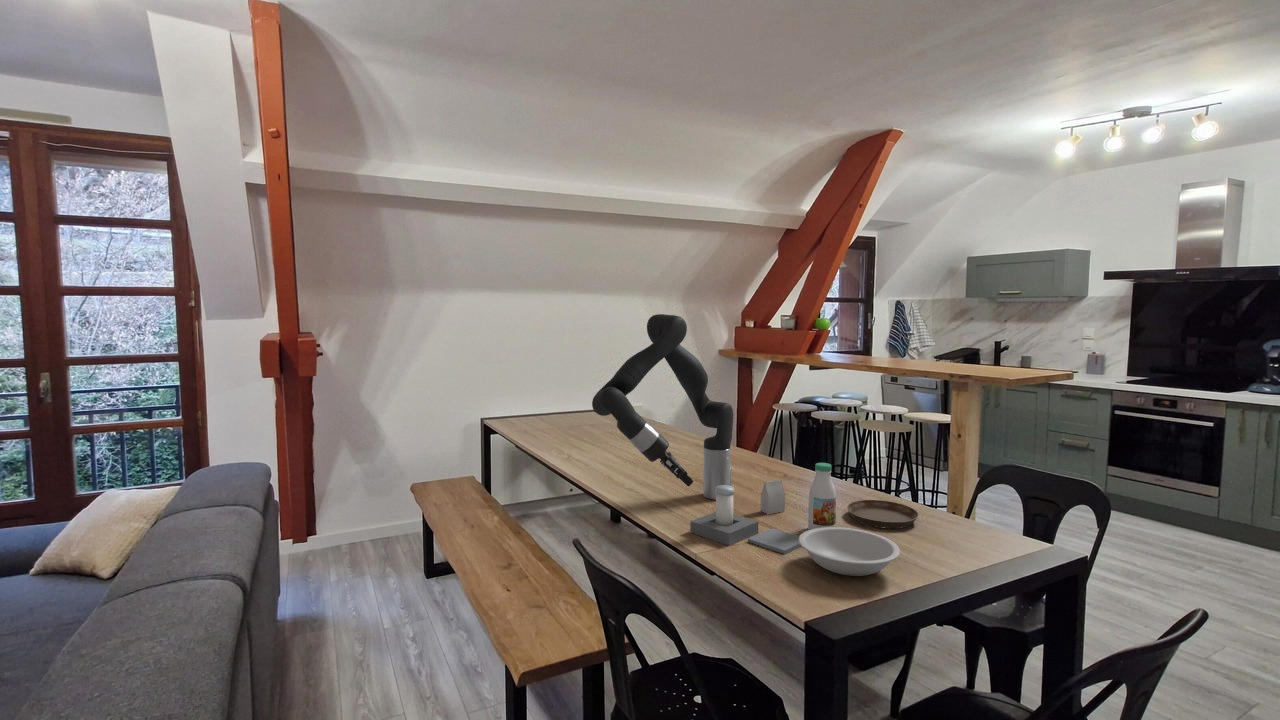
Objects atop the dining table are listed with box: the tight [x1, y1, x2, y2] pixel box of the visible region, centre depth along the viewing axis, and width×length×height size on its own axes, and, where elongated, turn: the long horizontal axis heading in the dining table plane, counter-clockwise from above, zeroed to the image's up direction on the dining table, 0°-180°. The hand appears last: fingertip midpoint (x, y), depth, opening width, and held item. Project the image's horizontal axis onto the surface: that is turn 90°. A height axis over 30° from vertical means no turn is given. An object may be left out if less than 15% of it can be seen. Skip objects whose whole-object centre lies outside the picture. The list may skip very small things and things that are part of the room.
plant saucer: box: [846, 499, 920, 529], centre depth 191 cm, size 21×21×3 cm
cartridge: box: [715, 485, 735, 527], centre depth 178 cm, size 5×5×14 cm
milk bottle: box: [807, 462, 837, 530], centre depth 180 cm, size 8×8×20 cm
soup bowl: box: [799, 526, 901, 577], centre depth 153 cm, size 24×24×7 cm
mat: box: [747, 528, 802, 555], centre depth 171 cm, size 12×12×1 cm
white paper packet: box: [760, 479, 786, 515], centre depth 198 cm, size 4×7×10 cm, turn 116°
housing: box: [689, 511, 759, 547], centre depth 178 cm, size 14×14×4 cm
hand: (688, 479), depth 176 cm, fingers open, 8 cm apart
